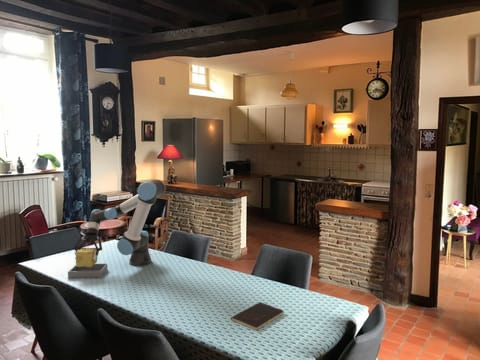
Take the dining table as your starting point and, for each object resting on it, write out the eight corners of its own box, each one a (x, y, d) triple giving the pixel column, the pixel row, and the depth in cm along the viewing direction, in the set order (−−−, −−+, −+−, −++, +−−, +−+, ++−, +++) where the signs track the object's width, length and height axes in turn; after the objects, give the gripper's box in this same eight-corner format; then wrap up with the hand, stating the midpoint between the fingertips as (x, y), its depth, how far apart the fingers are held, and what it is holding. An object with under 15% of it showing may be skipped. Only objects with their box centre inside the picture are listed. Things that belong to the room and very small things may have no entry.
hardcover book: (283, 314, 192) (283, 310, 192) (256, 331, 175) (256, 327, 174) (259, 305, 202) (259, 301, 202) (230, 321, 185) (230, 316, 185)
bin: (107, 270, 253) (107, 263, 252) (100, 278, 238) (100, 271, 237) (77, 270, 252) (76, 263, 251) (68, 278, 237) (67, 271, 236)
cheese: (91, 267, 239) (91, 252, 238) (74, 267, 239) (74, 251, 238) (97, 262, 249) (97, 247, 248) (81, 261, 249) (81, 247, 248)
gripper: (111, 233, 258) (104, 262, 245) (77, 232, 257) (68, 262, 243) (108, 227, 253) (102, 257, 239) (73, 227, 251) (65, 256, 237)
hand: (85, 259), depth 241 cm, fingers closed on cheese, 11 cm apart
